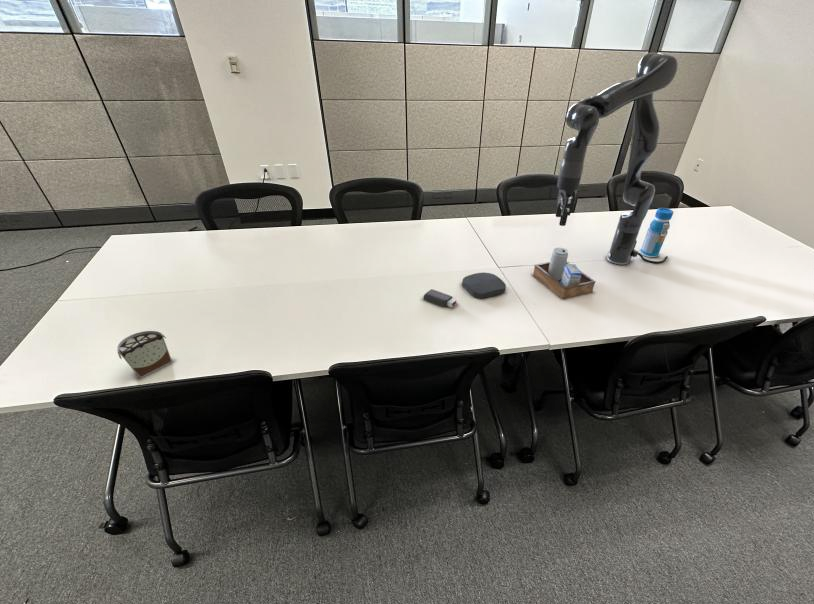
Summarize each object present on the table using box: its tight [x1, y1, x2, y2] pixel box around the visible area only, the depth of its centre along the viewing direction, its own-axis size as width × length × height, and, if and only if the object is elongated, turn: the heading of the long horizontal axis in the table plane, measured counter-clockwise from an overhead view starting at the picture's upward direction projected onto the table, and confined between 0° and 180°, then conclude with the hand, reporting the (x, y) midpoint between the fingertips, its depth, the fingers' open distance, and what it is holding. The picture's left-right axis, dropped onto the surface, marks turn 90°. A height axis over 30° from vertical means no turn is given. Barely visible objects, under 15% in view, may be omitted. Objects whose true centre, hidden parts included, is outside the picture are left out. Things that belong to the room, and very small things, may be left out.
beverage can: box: [548, 247, 569, 281], centre depth 169 cm, size 6×6×12 cm
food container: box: [116, 330, 173, 379], centre depth 119 cm, size 12×6×10 cm, turn 145°
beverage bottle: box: [639, 207, 674, 258], centre depth 187 cm, size 8×8×20 cm
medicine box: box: [560, 263, 582, 287], centre depth 164 cm, size 8×4×9 cm, turn 5°
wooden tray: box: [532, 261, 597, 300], centre depth 168 cm, size 15×21×5 cm
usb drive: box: [423, 288, 458, 308], centre depth 155 cm, size 5×12×3 cm, turn 58°
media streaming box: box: [461, 272, 507, 299], centre depth 163 cm, size 15×15×3 cm
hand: (560, 220), depth 153 cm, fingers open, 8 cm apart
